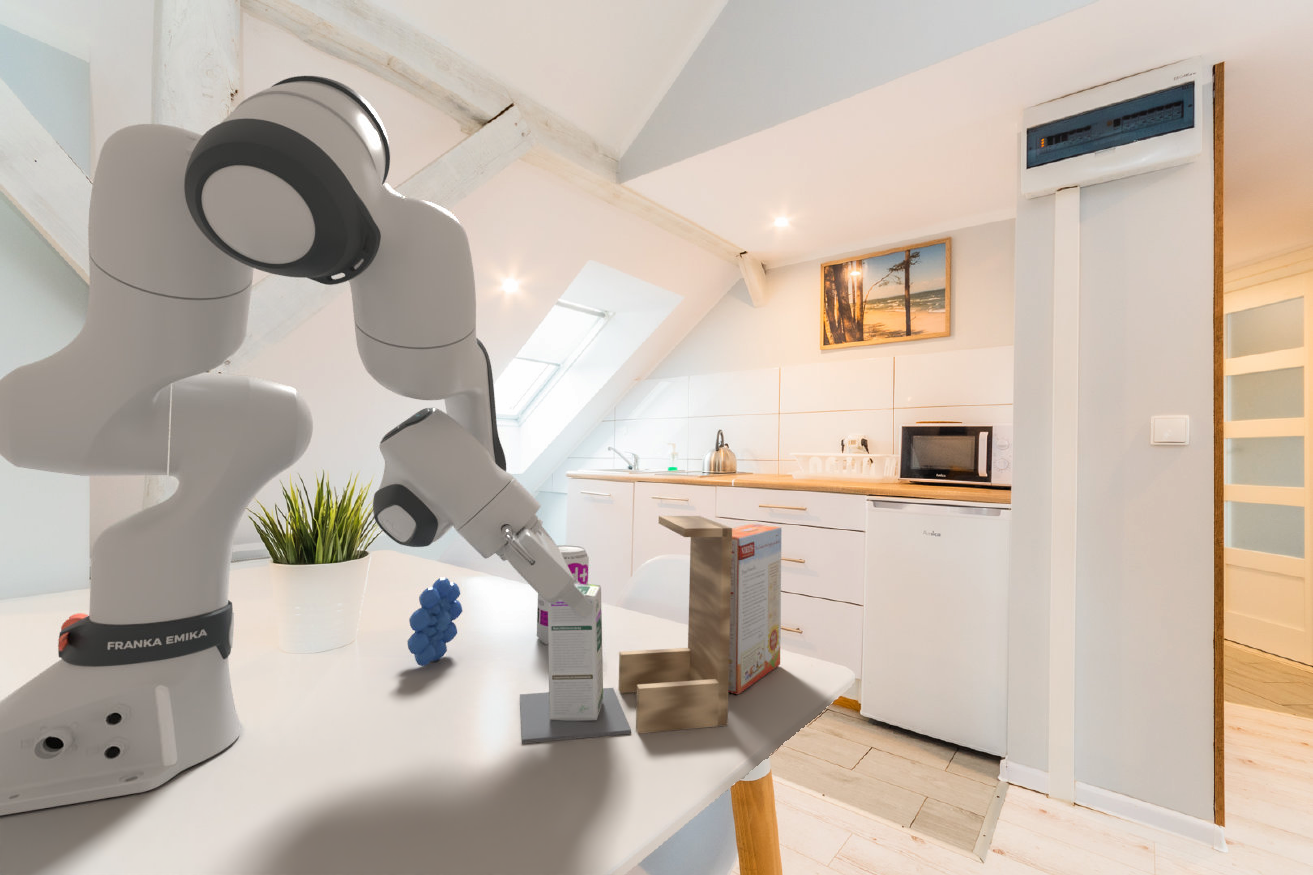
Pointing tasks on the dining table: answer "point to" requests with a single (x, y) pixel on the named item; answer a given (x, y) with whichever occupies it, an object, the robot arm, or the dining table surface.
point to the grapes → (434, 621)
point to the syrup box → (575, 659)
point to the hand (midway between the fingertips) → (584, 602)
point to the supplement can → (579, 570)
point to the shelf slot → (689, 642)
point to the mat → (545, 729)
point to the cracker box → (754, 604)
